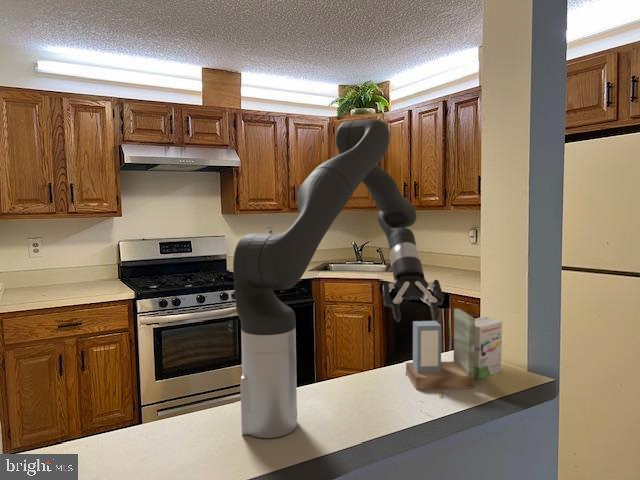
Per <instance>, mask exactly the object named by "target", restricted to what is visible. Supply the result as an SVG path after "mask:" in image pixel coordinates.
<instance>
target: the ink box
mask: <svg viewBox="0 0 640 480" xmlns="http://www.w3.org/2000/svg"><path fill="white" fill-rule="evenodd" d="M502 338H503V321H502V320H498V319H494V318H491V317H487V316H481V317H477V318H475V349H474V379H477V380H482V379H485V378H487V377H489V376H492V375H494V374H497V373H500V372H502V353H503V352H502V350H503V347H502V343H503V341H502V340H503V339H502Z"/></svg>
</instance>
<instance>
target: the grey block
mask: <svg viewBox="0 0 640 480" xmlns="http://www.w3.org/2000/svg"><path fill="white" fill-rule="evenodd" d="M441 362H442V325H441V324H440V323H439V322H438V321H437V320H436V321H433V320H421V321H420V320H415V321H414V320H413V321H412V363H413V367H414V369H415V370H416V372H417V373H432V372H441Z"/></svg>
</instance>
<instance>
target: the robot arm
mask: <svg viewBox="0 0 640 480" xmlns="http://www.w3.org/2000/svg"><path fill="white" fill-rule="evenodd" d="M389 145H390V130H389V128H388V126H387V124H386V123H385V122H384V121H383V120H379V119H373V118H367V119H353V120H352V119H351V120H346V121H343V122H342V123H340V125H338V127H337V130H336V134H335V146H336V149H337V151H338V153H339V154H338V155H336V156H333V157H331V158H330V159H327V160H326V161H324V162H322V163H321V164H319V165H318V166H317V167H315V169H313V170H312V172H311V173H310V174H308V176H307V177H306V179H305V180H304V181H303V182H302V184H301V185H300V187H299V189H298V192H297V197H296V202H297V203H296V205H297V211H298V217H297V218H296V220H295V221H294V223H292V225H290V227H289V228H288V229H287V230H285V231H284V232H281V233H247V234H246V235H244V236H241V238H240V239H239V241H238V242H237V245H236V246H235V249H234V253H233V261H232V270H233V272H232V273H233V284H234V287H233V288H234V297H235V309H236V313H237V315H238V318H239V320H240V333H241V335H240V337H241V339H240V340H241V372H242V374H241V377H240V416H241V417H240V418H241V420H240V421H241V435H249V436H252V437H254V438H255V437H256V438H260V439H261V438H262V439H273V438H274V439H275V438H279V437H284V436H286V435H288V434H290V433H292V432H294V430H296V429H297V426H298V403H297V401H298V398H297V397H298V394H297V390H298V388H297V339H296V338H297V337H296V336H297V333H296V330H297V329H296V327H297V326H296V325H297V323H296V313H295V311H294V310H293V309H292V308H291V307H290V306H289V305H286V304H285V303H284V302H282V301H281V300H280V299H279V298H278V296H276V294H275V292H274V290H276V291H283V290H284V291H285V290H289V289H291V288H293V287H294V286H296V284H298V282H299V281H300V280H301V279H302V277H303V275H304V274H305V272H306V271H307V269H308V266H309V265H310V263H311V260H313V259H312V258H313V257H314V255H315V253H316V251H317V249H318V247H320V246H319V245H320V244H321V242H322V240H323V239H324V237H325V235H326V234H327V232H328V231H329V229H330V227H331V226H332V224H333V223H334V222H335V220H336V218H337V217H338V216H339V215H340V214H341V212H342V211H343V209H344V208H345V206H346V205H347V204H348V202H349V200H350V198H351V197H352V196H353V194H354V193H355V191H356V190H357V188H358V187H359V185H360V184H362V183H363V185H364V186H365V187H366V189H367V190H368V192H369V193H370V195H371V197H372V200H373V202H374V204H375V205H376V208H377V209H378V210H379V212H378V213H377V222H378V225H379V227H381V230H382V231H383V233H384V235H385V236H386V240H387V244H388V249H389V253H390V256H389V257H390V266H391V269H392V276H393V280H394V282H393V283H392V282H389V281H388V280H384V281H383V284H382V298H383V306H384V307H385V308H387V307H388V308H391V310H392V315H393V319H394V320H395V321H396V322H397V323H400V322H401V320H402V314H401V307H400V304H401V303H402V301H403V300H405V301H410V300H414V301H415V300H416V301H419V299H420V300H421V301H422V302H423V303H425V304H427V305H428V306H429V310H430V314H431V315H430V316H431V318H432V321H437V320H438V319H439V317H440V309H439V306H442V305H443V301H444V300H445V297H444V293H443V291H442V287H441V285H440V284H441V283H440V281H439V280H438V279H434V280H433V281H429V282H428V281H427V280H426V278H425V273H424V269H423V265H422V260H421V255H420V252H419V249H418V248H417V243H416V238H415V235H414V234H415V233H414V232H413V231H412V229H410V228H409V227H411V226H413V225H414V224H415V223H416V221H417V212H416V209H415V207H414V206H413V204H412V203H411V202H410V201H409V200H408V199H406V198H405V197H404V196H403V195H402V194H401V191H400V189H399V187H398V185H397V181H396V180H395V179H394V178H393V177H392V175H390V174H389V173H388V172H387V171H386V170H384V169H383V168H382V167H381V166H379V165H378V164H379V163H380V162H381V160H383V158H384V157H385V155H386V153H387V151H388V150H389V149H388V148H389ZM392 289H393V290H394V291H395V292H396V293H397V294H396V296H395V297H394V299H391V296H390V295H391V294H390V293H391V292H392ZM428 289H430V290H431V291H429V290H428ZM431 292H433V295H434V296H433V295H432V293H431Z"/></svg>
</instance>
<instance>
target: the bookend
mask: <svg viewBox="0 0 640 480" xmlns="http://www.w3.org/2000/svg"><path fill="white" fill-rule="evenodd" d="M453 310H454V311H453V312H454V313H453V360H452V361H441V372H432V373H417V372H416V370H415V369H414V367H413V362H406V363H405V367H406V368H405V373H406V376H407V378H408V379H409V381H410V382H411V385H413V387H414V388H415V390H416V391H417V390H418V391H419V390H443V389H444V390H448V389H474V388H475V378H474V349H475V319H476V318H475V317H473V316H472V315H471V314H468V313H467V312H466V311H464V310H463V309H461V308H454V309H453Z"/></svg>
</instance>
